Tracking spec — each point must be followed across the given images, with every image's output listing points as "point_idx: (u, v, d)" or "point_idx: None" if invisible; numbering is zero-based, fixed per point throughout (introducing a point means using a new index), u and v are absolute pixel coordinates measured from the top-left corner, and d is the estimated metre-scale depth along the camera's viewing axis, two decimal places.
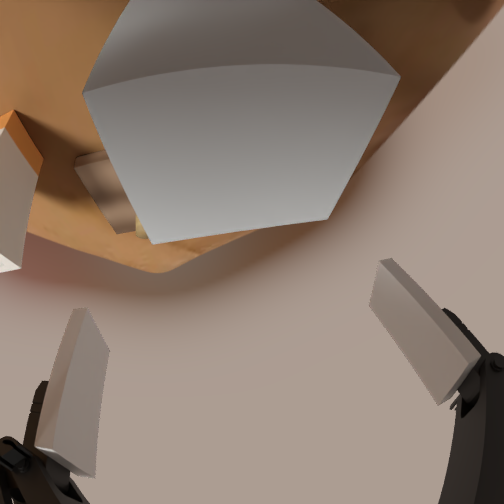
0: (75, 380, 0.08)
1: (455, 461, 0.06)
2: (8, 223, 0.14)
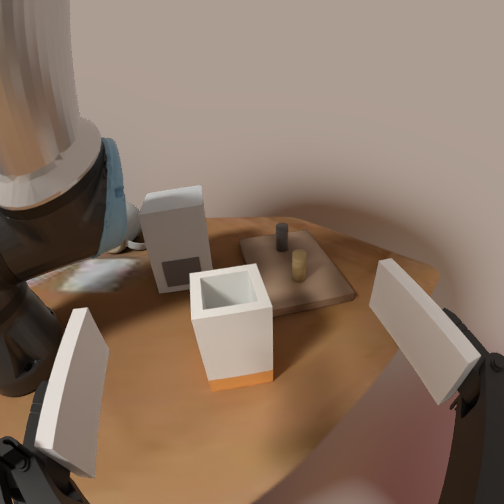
0: (75, 380, 0.08)
1: (455, 461, 0.06)
2: None
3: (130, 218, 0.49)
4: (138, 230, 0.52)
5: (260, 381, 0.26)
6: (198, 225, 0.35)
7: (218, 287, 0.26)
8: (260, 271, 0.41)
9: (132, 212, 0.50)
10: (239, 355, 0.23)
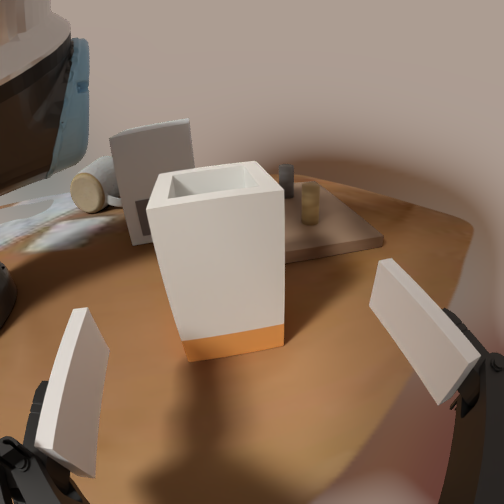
0: (75, 380, 0.08)
1: (455, 461, 0.06)
2: None
3: (112, 171, 0.41)
4: None
5: (264, 345, 0.17)
6: (181, 151, 0.27)
7: (199, 192, 0.17)
8: None
9: None
10: (228, 291, 0.15)
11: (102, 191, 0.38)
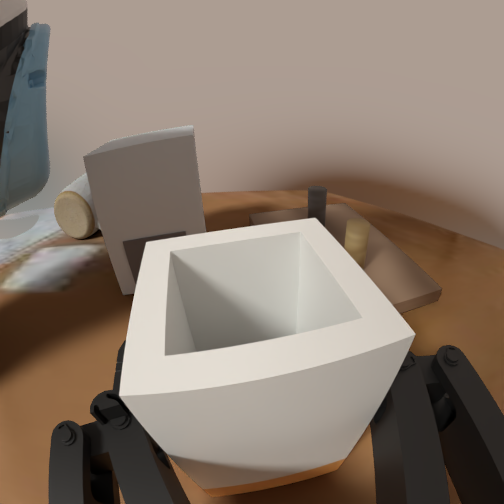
0: None
1: (380, 470, 0.06)
2: None
3: None
4: None
5: (313, 475, 0.10)
6: (184, 174, 0.19)
7: (220, 278, 0.10)
8: None
9: None
10: (280, 456, 0.07)
11: (91, 214, 0.31)
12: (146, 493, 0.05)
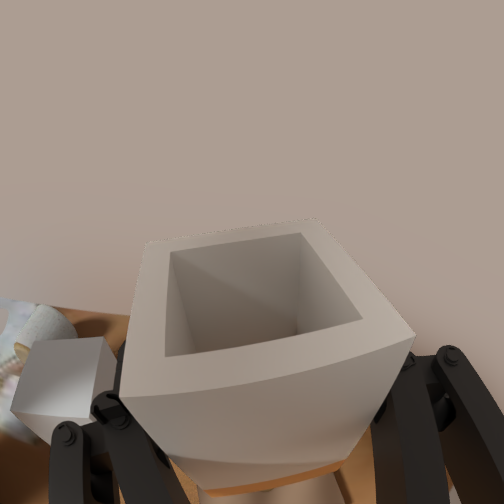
0: None
1: (380, 470, 0.06)
2: None
3: (54, 336, 0.30)
4: None
5: (313, 476, 0.10)
6: None
7: (220, 279, 0.10)
8: None
9: (57, 326, 0.30)
10: (280, 457, 0.07)
11: None
12: (146, 493, 0.05)
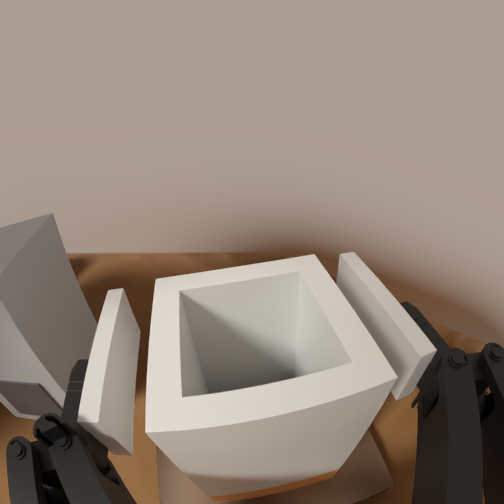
0: (116, 355, 0.09)
1: (422, 463, 0.06)
2: None
3: None
4: None
5: (310, 483, 0.11)
6: (6, 330, 0.10)
7: (225, 313, 0.10)
8: None
9: None
10: (280, 469, 0.08)
11: None
12: None
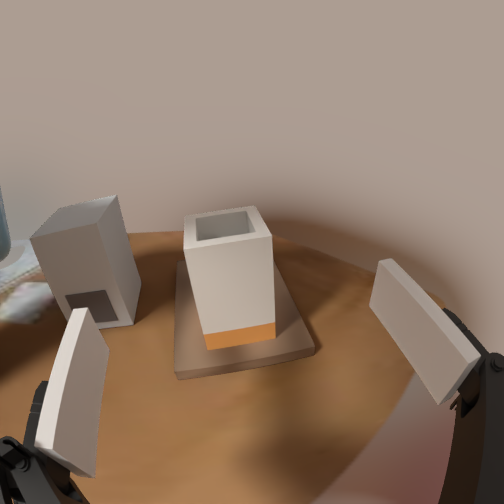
0: (75, 380, 0.08)
1: (455, 461, 0.06)
2: None
3: None
4: None
5: (261, 337, 0.24)
6: (96, 251, 0.24)
7: (214, 230, 0.24)
8: (188, 308, 0.29)
9: None
10: (236, 299, 0.22)
11: None
12: None
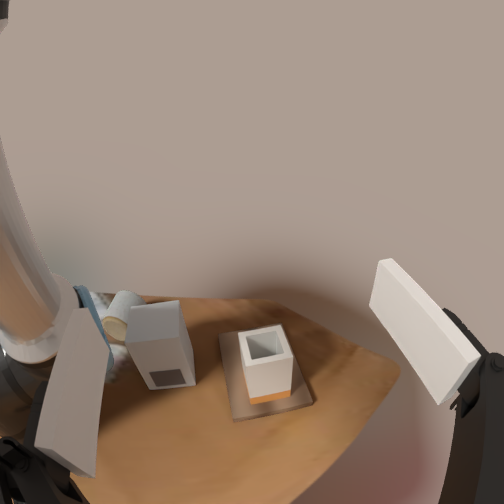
0: (75, 380, 0.08)
1: (455, 461, 0.06)
2: None
3: None
4: None
5: (282, 396, 0.39)
6: (176, 350, 0.39)
7: (256, 340, 0.39)
8: (234, 375, 0.44)
9: (137, 304, 0.53)
10: (270, 383, 0.37)
11: None
12: None
